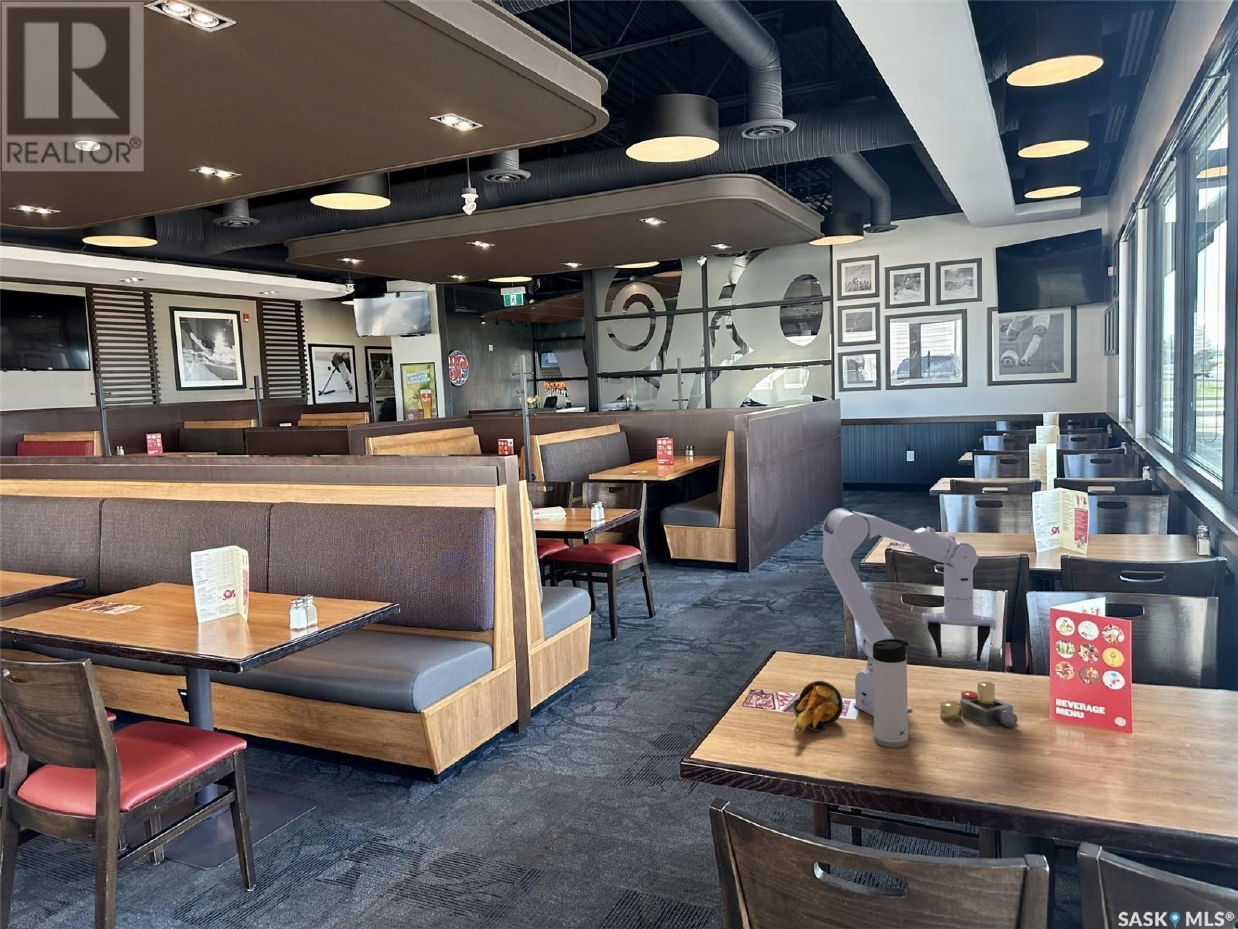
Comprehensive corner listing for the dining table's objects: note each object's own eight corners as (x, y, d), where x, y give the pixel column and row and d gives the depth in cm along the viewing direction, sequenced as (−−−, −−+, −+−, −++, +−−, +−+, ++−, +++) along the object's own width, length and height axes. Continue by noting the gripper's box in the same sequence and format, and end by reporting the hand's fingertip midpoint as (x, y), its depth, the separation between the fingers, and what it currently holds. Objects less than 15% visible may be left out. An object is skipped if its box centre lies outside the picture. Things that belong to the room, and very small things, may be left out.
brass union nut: (950, 723, 164) (950, 709, 164) (936, 716, 168) (935, 703, 168) (965, 720, 166) (965, 705, 165) (951, 713, 169) (950, 699, 169)
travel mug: (912, 749, 153) (910, 646, 152) (876, 747, 155) (873, 645, 153) (907, 735, 159) (905, 636, 158) (872, 734, 161) (870, 636, 159)
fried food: (851, 693, 171) (846, 695, 154) (830, 741, 170) (822, 749, 153) (810, 672, 174) (801, 673, 158) (789, 720, 173) (777, 725, 157)
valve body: (998, 732, 159) (998, 714, 159) (950, 710, 171) (950, 694, 170) (1025, 725, 161) (1025, 708, 161) (976, 704, 173) (976, 688, 173)
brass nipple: (986, 716, 164) (986, 688, 163) (974, 711, 167) (974, 683, 166) (998, 714, 165) (998, 685, 165) (986, 708, 168) (986, 680, 168)
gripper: (995, 594, 173) (996, 655, 174) (923, 589, 179) (924, 649, 180) (995, 602, 167) (996, 666, 168) (921, 597, 173) (922, 659, 174)
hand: (959, 658), depth 174 cm, fingers open, 7 cm apart
